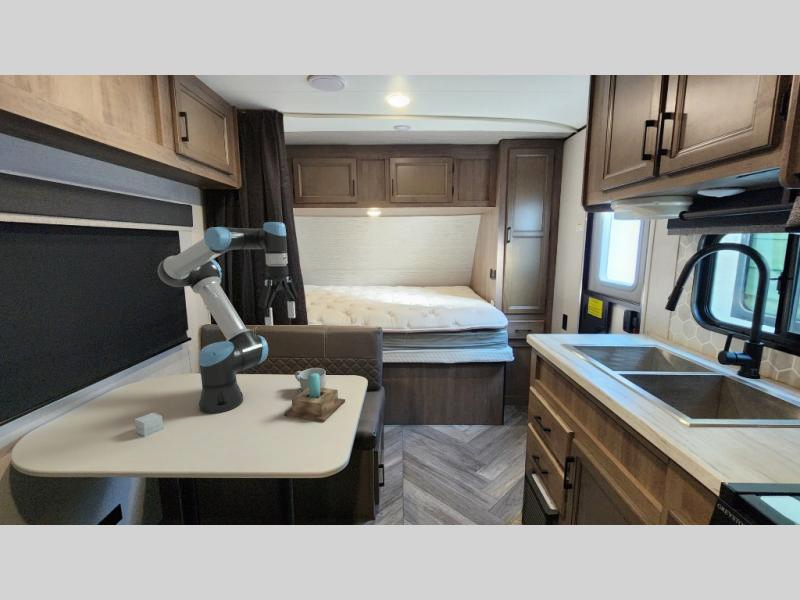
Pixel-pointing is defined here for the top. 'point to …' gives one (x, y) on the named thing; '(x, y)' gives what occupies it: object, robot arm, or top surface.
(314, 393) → the peg
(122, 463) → the top surface
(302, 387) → the teacup
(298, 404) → the socket
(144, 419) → the small box
